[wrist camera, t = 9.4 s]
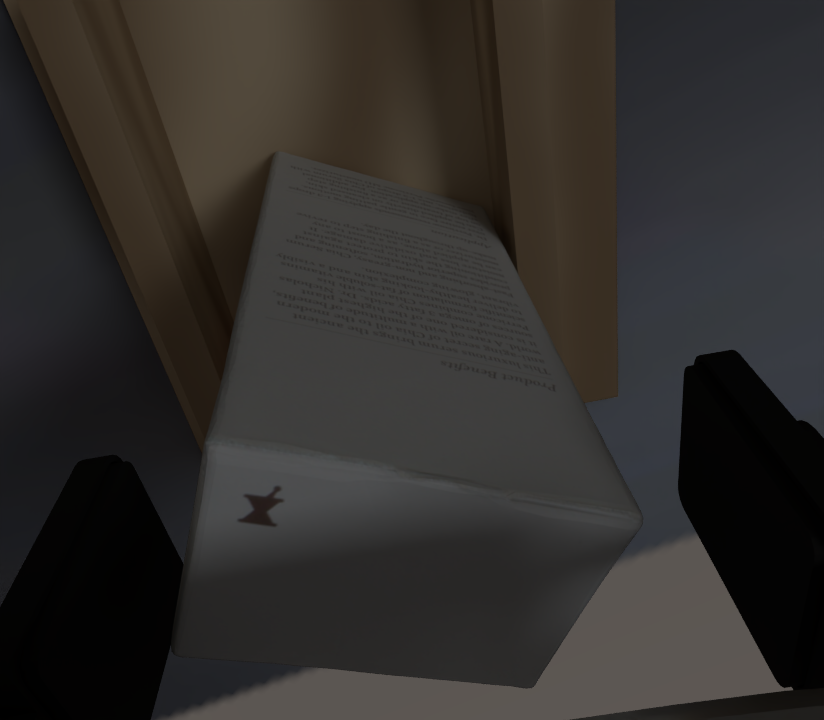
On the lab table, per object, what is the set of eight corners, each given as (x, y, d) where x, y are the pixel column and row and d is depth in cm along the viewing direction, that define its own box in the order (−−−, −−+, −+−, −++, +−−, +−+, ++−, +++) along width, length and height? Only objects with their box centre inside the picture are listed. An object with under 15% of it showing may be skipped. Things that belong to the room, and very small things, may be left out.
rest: (604, -294, 14) (673, -349, 11) (612, 388, 24) (651, 454, 21) (-56, -158, 15) (-156, -178, 12) (212, 464, 24) (195, 540, 21)
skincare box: (245, 288, 20) (152, 661, 10) (274, 145, 18) (196, 433, 8) (443, 333, 21) (537, 700, 11) (492, 205, 19) (660, 515, 9)
